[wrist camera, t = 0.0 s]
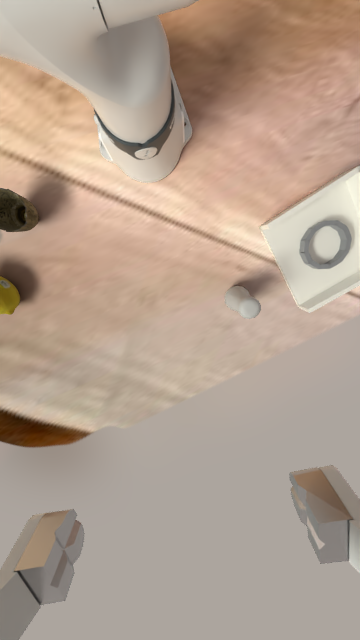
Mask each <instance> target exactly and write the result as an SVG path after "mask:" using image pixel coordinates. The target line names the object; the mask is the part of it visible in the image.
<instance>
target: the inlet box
mask: <svg viewBox="0 0 360 640" xmlns="http://www.w3.org/2000/svg"><path fill="white" fill-rule="evenodd" d="M259 228H260V231H261V233H262V235H263V237H264V239H265V241H266V243H267V245H268V247H269V249H270V251H271V253H272V255H273V257H274V259H275V261H276V263H277V265H278V267H279V269H280V271H281V273H282V275H283V278H284V280H285V282H286V284H287V286H288V288H289V290H290V292H291V294H292V296H293V298H294V300H295V302H296V304H297V306H298V308H300V309H302V310H304V311H306V312H308V313H311V312H313V311H314V310H316V309H318V308H320V307H322V306H323V305H325V304H327V303H329V302H331V301H332V300H334V299H336V298H338V297H340V296H341V295H343V294H345V293H347V292H349V291H350V290H352V289H354V288H356V287H358V286H359V285H360V165H359V166H357V167H355V168H353V169H350V170H348V171H346V172H344V173H343V174H341V175H339V176H338V177H336V178H335V179H333V180H332V181H330V182H328V183H327V184H325V185H324V186H322V187H321V188H319V189H318V190H316V191H314V192H313V193H311V194H310V195H308V196H307V197H305V198H303V199H302V200H300V201H299V202H297V203H296V204H294V205H292V206H291V207H289V208H288V209H286V210H285V211H283V212H282V213H280V214H278V215H277V216H275V217H274V218H272V219H271V220H269V221H267V222H266V223H264V224H263V225H261V226H260V227H259Z"/></svg>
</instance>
